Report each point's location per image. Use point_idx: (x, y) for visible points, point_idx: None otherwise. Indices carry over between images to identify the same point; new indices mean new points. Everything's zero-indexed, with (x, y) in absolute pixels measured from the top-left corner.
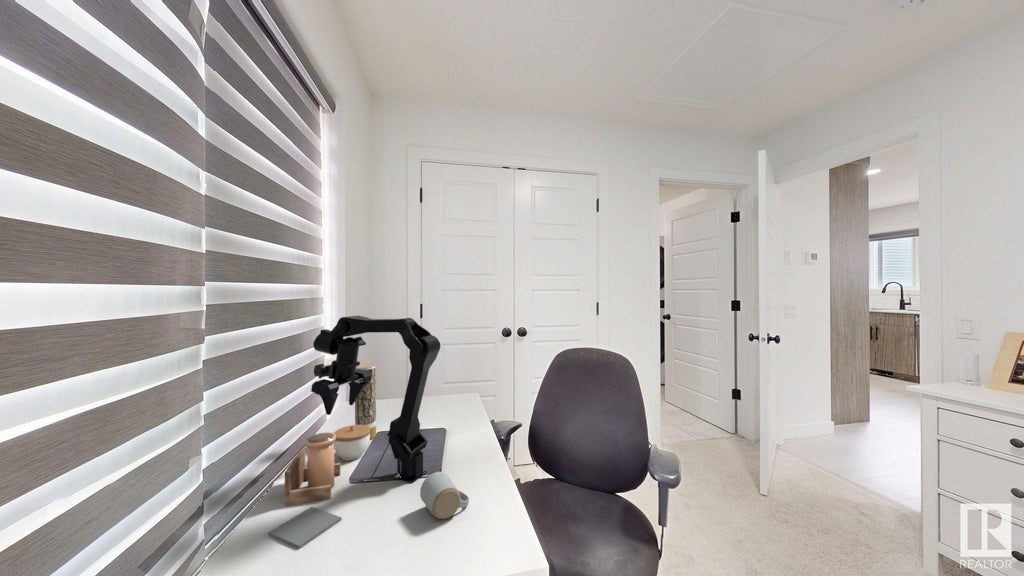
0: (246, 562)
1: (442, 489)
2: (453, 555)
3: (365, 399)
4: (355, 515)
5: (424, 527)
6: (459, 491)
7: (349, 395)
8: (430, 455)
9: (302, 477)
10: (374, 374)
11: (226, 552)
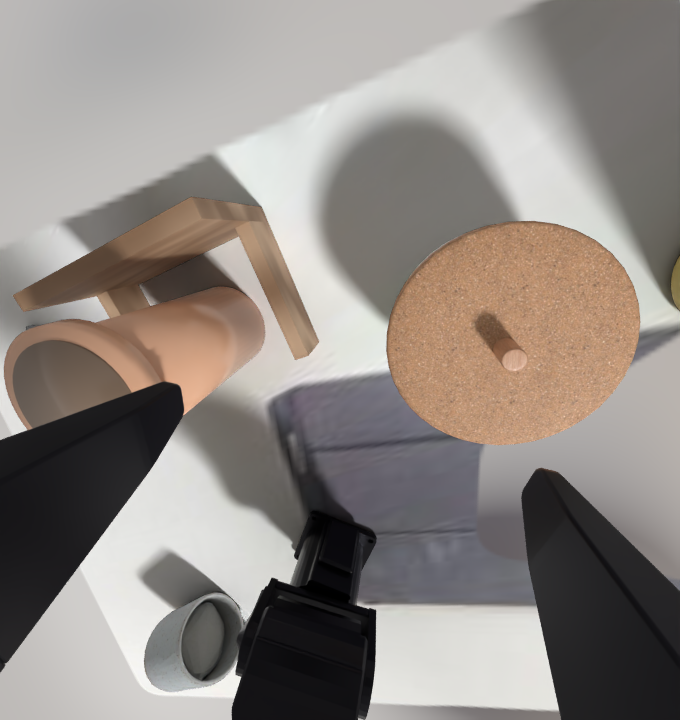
0: None
1: (150, 679)
2: (125, 623)
3: None
4: (151, 472)
5: (163, 588)
6: None
7: (617, 587)
8: (467, 575)
9: (228, 236)
10: None
11: None
